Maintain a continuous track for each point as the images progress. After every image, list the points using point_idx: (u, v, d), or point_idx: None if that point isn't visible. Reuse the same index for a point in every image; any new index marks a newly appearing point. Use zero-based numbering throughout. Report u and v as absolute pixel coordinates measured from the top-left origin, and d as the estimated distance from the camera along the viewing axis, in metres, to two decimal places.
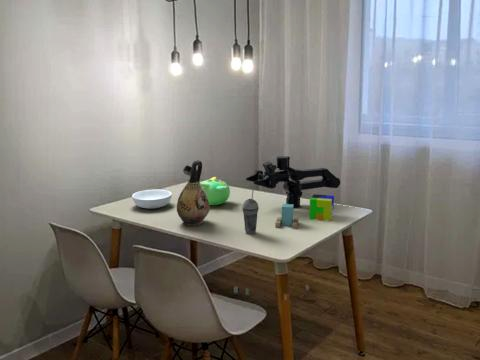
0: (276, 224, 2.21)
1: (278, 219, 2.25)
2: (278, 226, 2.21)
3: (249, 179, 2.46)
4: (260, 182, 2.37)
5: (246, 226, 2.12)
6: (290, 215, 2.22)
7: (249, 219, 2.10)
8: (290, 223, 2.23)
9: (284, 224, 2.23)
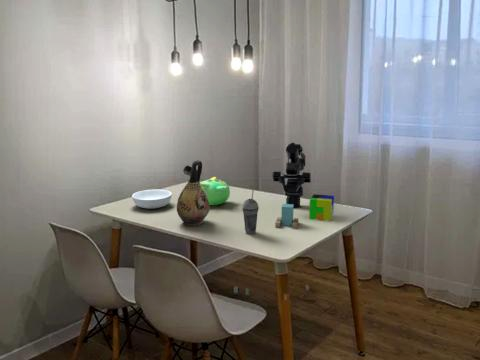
0: (276, 224, 2.21)
1: (278, 219, 2.25)
2: (278, 226, 2.21)
3: (285, 188, 2.37)
4: (298, 186, 2.36)
5: (246, 226, 2.12)
6: (290, 215, 2.22)
7: (249, 219, 2.10)
8: (290, 223, 2.23)
9: (284, 224, 2.23)
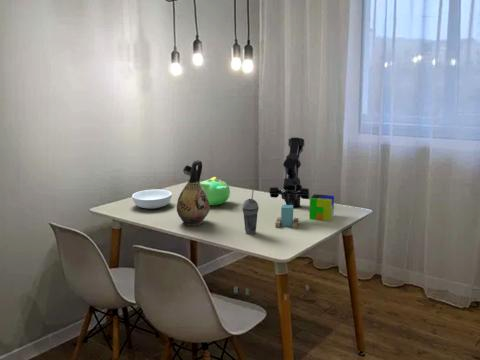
0: (276, 224, 2.21)
1: (278, 219, 2.25)
2: (278, 226, 2.21)
3: None
4: (290, 202, 2.27)
5: (246, 226, 2.12)
6: (290, 216, 2.21)
7: (249, 219, 2.10)
8: (290, 224, 2.22)
9: (284, 225, 2.22)
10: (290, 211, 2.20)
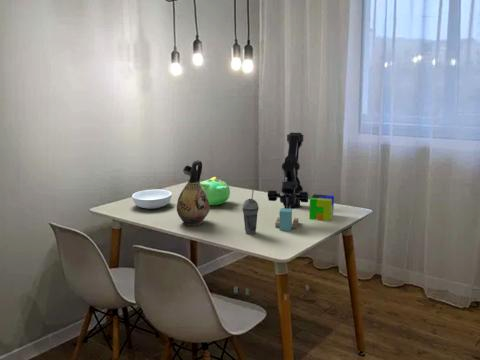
0: (276, 224, 2.21)
1: (278, 219, 2.25)
2: (278, 226, 2.21)
3: None
4: (289, 206, 2.21)
5: (246, 226, 2.12)
6: (288, 220, 2.15)
7: (249, 219, 2.10)
8: (288, 228, 2.16)
9: (282, 229, 2.16)
10: (289, 215, 2.14)
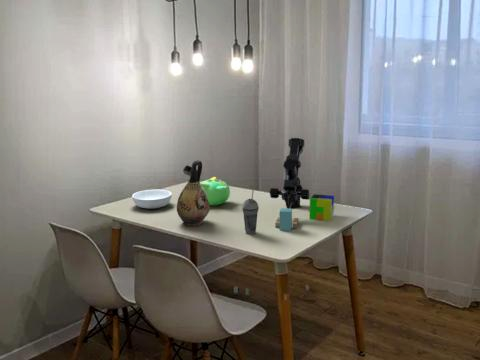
0: (276, 224, 2.21)
1: (278, 219, 2.25)
2: (278, 226, 2.21)
3: None
4: (290, 203, 2.28)
5: (246, 226, 2.12)
6: (288, 220, 2.15)
7: (249, 219, 2.10)
8: (288, 228, 2.16)
9: (282, 229, 2.16)
10: (289, 215, 2.14)
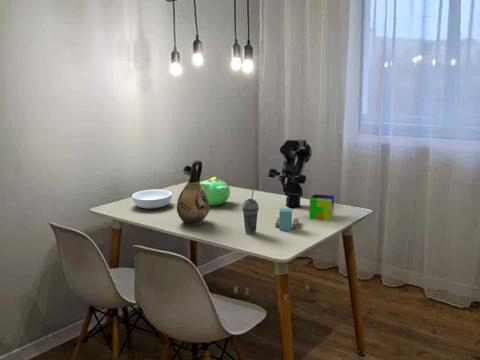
0: (276, 224, 2.21)
1: (278, 219, 2.25)
2: (278, 226, 2.21)
3: None
4: (287, 186, 2.36)
5: (246, 226, 2.12)
6: (288, 220, 2.15)
7: (249, 219, 2.10)
8: (288, 228, 2.16)
9: (282, 229, 2.16)
10: (289, 215, 2.14)
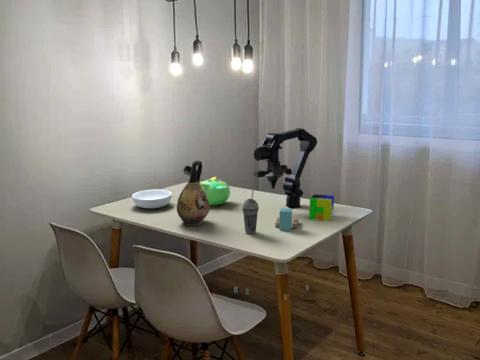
0: (276, 224, 2.21)
1: (278, 219, 2.25)
2: (278, 226, 2.21)
3: None
4: None
5: (246, 226, 2.12)
6: (288, 220, 2.15)
7: (249, 219, 2.10)
8: (288, 228, 2.16)
9: (282, 229, 2.16)
10: (289, 215, 2.14)
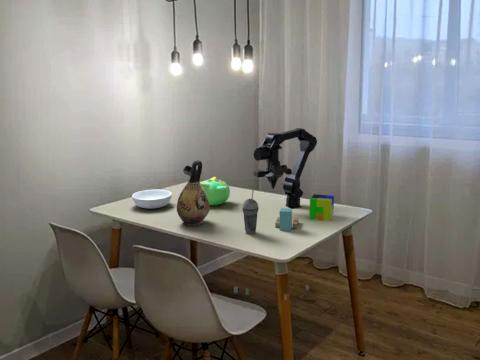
0: (276, 224, 2.21)
1: (278, 219, 2.25)
2: (278, 226, 2.21)
3: None
4: None
5: (246, 226, 2.12)
6: (288, 220, 2.15)
7: (249, 219, 2.10)
8: (288, 228, 2.16)
9: (282, 229, 2.16)
10: (289, 215, 2.14)
